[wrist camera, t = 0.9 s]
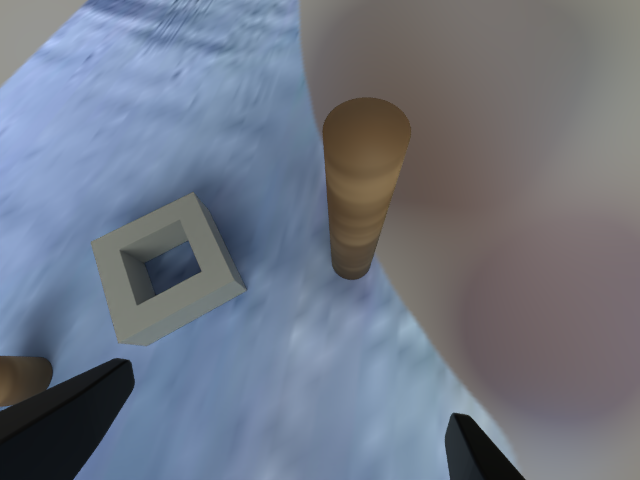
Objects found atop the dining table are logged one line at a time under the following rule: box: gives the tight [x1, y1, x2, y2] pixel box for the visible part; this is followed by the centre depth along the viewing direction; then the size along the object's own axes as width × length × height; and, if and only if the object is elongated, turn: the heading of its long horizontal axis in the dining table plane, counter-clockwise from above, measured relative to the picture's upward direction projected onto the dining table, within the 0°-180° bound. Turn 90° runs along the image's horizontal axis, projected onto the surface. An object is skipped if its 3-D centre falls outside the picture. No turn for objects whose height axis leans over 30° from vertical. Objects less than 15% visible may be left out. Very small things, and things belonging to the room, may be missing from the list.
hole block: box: [91, 192, 247, 346], centre depth 22 cm, size 8×8×3 cm
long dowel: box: [323, 98, 411, 280], centre depth 17 cm, size 3×3×14 cm
